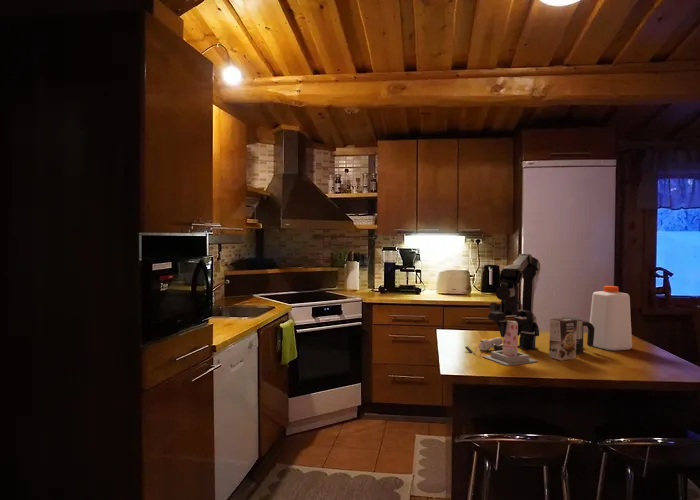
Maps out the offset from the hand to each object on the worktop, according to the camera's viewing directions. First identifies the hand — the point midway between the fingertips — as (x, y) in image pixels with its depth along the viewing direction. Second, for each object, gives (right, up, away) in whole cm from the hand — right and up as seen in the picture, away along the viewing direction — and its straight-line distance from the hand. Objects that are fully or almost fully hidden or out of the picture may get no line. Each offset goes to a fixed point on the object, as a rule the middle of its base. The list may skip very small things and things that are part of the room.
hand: (510, 336), depth 188 cm
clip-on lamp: (-6, -10, +12) cm, 16 cm away
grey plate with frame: (0, -10, 0) cm, 10 cm away
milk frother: (+34, -10, +19) cm, 40 cm away
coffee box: (+23, -10, +4) cm, 26 cm away
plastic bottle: (+54, -10, +25) cm, 61 cm away
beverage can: (0, -9, 0) cm, 9 cm away
